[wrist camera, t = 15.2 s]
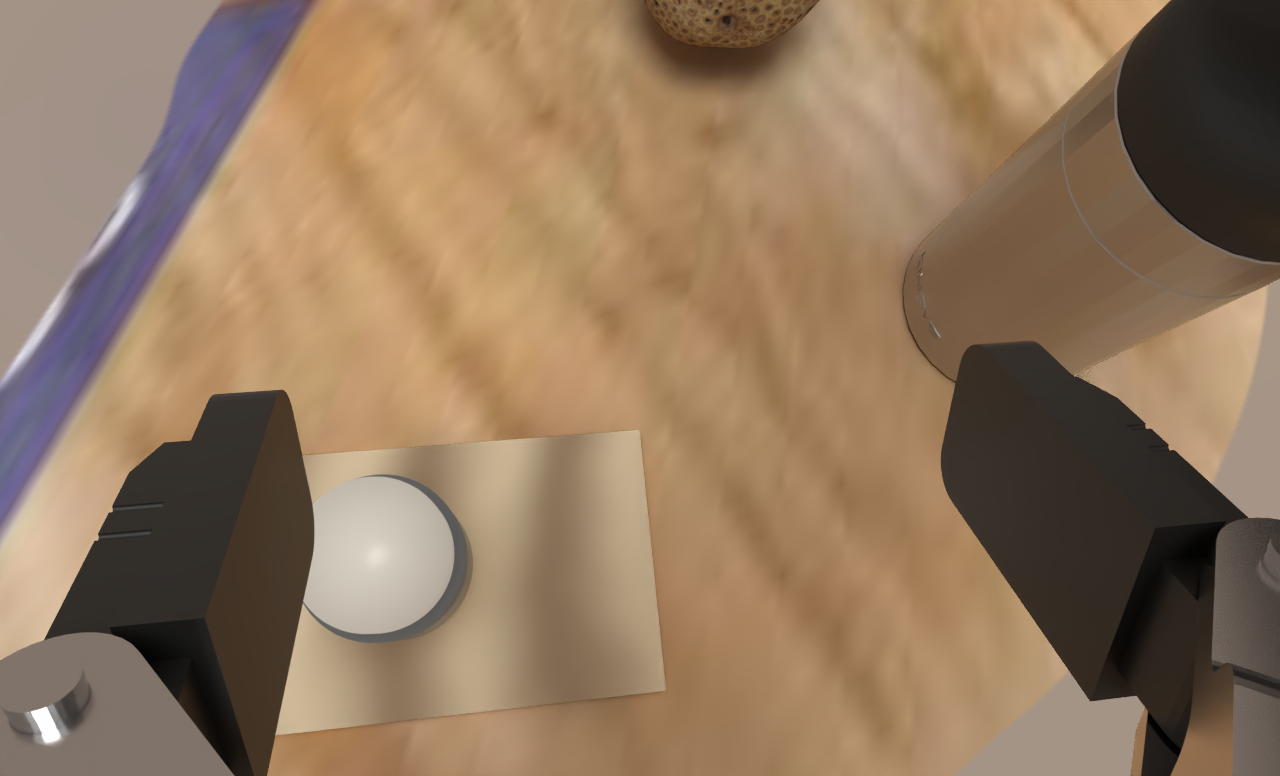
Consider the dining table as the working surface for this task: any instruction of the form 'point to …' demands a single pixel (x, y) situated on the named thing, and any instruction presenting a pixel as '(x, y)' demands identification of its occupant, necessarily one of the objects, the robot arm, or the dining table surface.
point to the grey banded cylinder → (386, 560)
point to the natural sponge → (728, 20)
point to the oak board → (502, 588)
